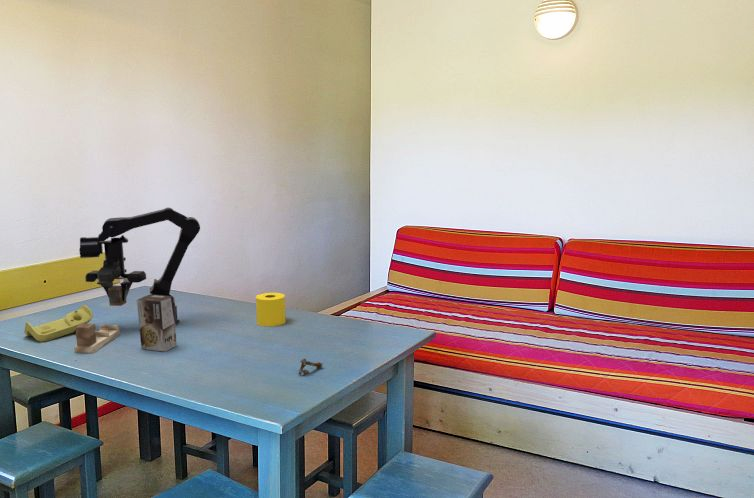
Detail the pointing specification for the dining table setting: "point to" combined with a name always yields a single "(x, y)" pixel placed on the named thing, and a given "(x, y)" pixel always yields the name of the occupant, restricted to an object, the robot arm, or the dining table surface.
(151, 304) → the coffee box
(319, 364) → the brown triangular bracket
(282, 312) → the yellow hollow cylinder
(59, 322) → the plastic component
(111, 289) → the walnut finger
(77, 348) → the rail
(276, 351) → the dining table surface
